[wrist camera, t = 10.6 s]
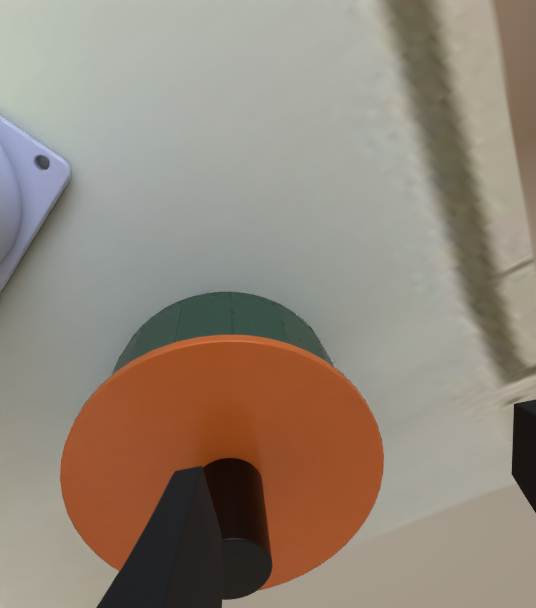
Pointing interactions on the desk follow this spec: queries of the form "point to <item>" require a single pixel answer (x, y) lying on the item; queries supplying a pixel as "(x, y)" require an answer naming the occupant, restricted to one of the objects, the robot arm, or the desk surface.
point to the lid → (228, 454)
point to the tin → (221, 324)
